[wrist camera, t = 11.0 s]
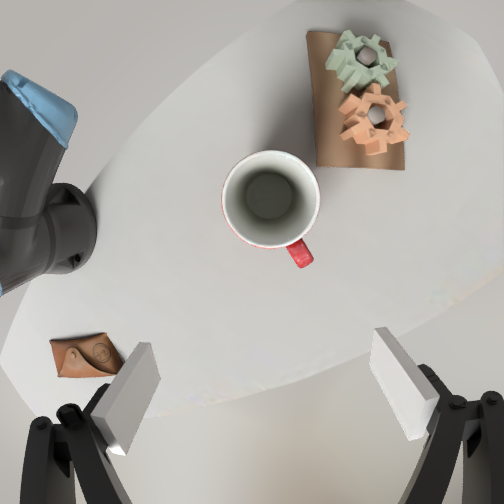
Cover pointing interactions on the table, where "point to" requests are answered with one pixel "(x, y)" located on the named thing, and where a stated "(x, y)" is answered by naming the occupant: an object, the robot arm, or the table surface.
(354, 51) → the gear
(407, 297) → the table surface
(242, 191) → the mug
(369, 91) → the gear
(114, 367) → the sunglasses case
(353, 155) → the gear board
